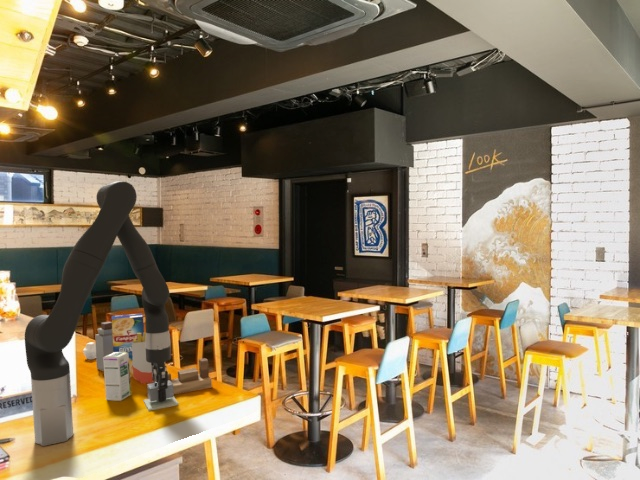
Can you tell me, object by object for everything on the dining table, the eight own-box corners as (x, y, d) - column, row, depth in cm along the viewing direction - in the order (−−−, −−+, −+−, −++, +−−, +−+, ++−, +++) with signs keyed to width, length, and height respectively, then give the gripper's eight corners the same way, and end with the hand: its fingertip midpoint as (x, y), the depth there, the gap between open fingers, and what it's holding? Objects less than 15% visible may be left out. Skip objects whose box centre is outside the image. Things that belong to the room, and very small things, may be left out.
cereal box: (146, 374, 190) (143, 316, 189) (114, 379, 186) (111, 319, 185) (145, 369, 196) (142, 313, 195) (114, 373, 192) (111, 316, 191)
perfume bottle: (96, 368, 200) (94, 323, 199) (113, 364, 205) (111, 320, 204) (104, 371, 195) (102, 325, 194) (121, 367, 200) (119, 322, 199)
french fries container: (133, 381, 183) (130, 331, 182) (164, 376, 187) (162, 328, 186) (134, 384, 179) (131, 334, 178) (166, 380, 183) (163, 330, 182)
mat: (178, 404, 159) (178, 403, 159) (148, 411, 155) (148, 409, 154) (172, 396, 167) (172, 394, 167) (143, 401, 162) (143, 399, 162)
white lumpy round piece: (97, 355, 218) (96, 339, 218) (101, 358, 214) (100, 341, 213) (81, 358, 215) (80, 342, 214) (85, 361, 210) (84, 344, 209)
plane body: (211, 387, 174) (210, 361, 173) (163, 396, 166) (162, 369, 166) (206, 381, 180) (204, 356, 180) (159, 390, 173) (158, 364, 172)
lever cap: (173, 397, 160) (173, 384, 160) (150, 401, 157) (150, 388, 156) (170, 392, 164) (169, 380, 164) (147, 396, 161) (147, 384, 161)
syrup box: (121, 401, 163) (119, 356, 163) (105, 400, 165) (102, 356, 164) (131, 394, 169) (129, 351, 168) (115, 394, 170) (113, 351, 169)
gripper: (141, 342, 164) (144, 393, 165) (149, 352, 151) (152, 408, 152) (165, 338, 168) (167, 389, 169) (175, 348, 155) (177, 403, 156)
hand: (160, 398), depth 160 cm, fingers closed on lever cap, 5 cm apart
